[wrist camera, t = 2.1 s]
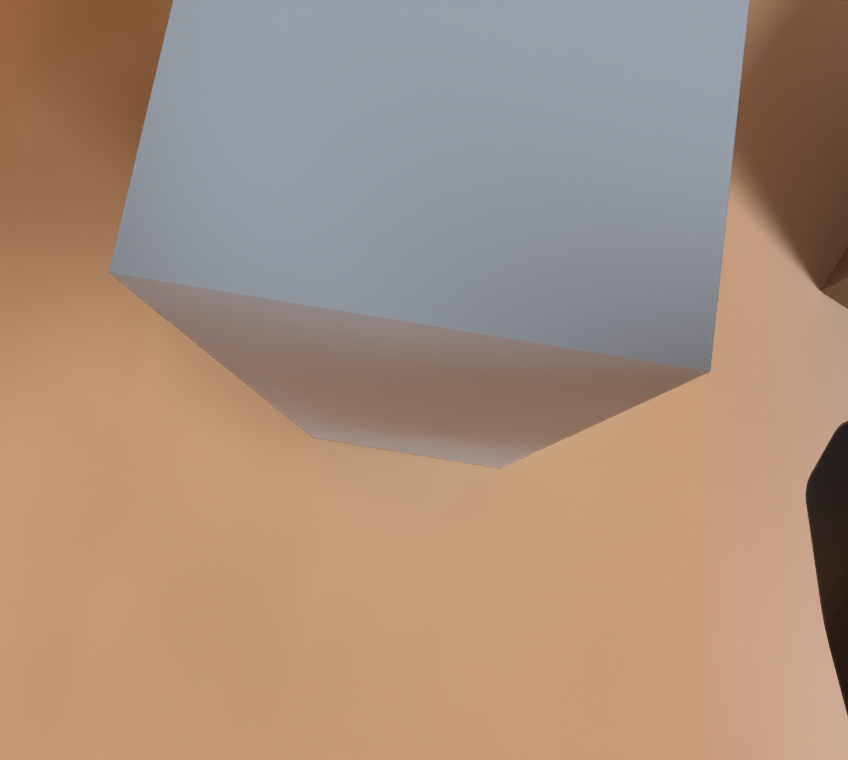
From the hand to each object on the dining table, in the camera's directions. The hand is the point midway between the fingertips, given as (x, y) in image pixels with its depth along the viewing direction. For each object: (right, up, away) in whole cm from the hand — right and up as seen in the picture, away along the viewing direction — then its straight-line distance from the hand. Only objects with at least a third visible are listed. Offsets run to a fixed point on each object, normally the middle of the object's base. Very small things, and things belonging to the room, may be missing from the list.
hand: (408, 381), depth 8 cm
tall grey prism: (+1, +4, +11) cm, 12 cm away
